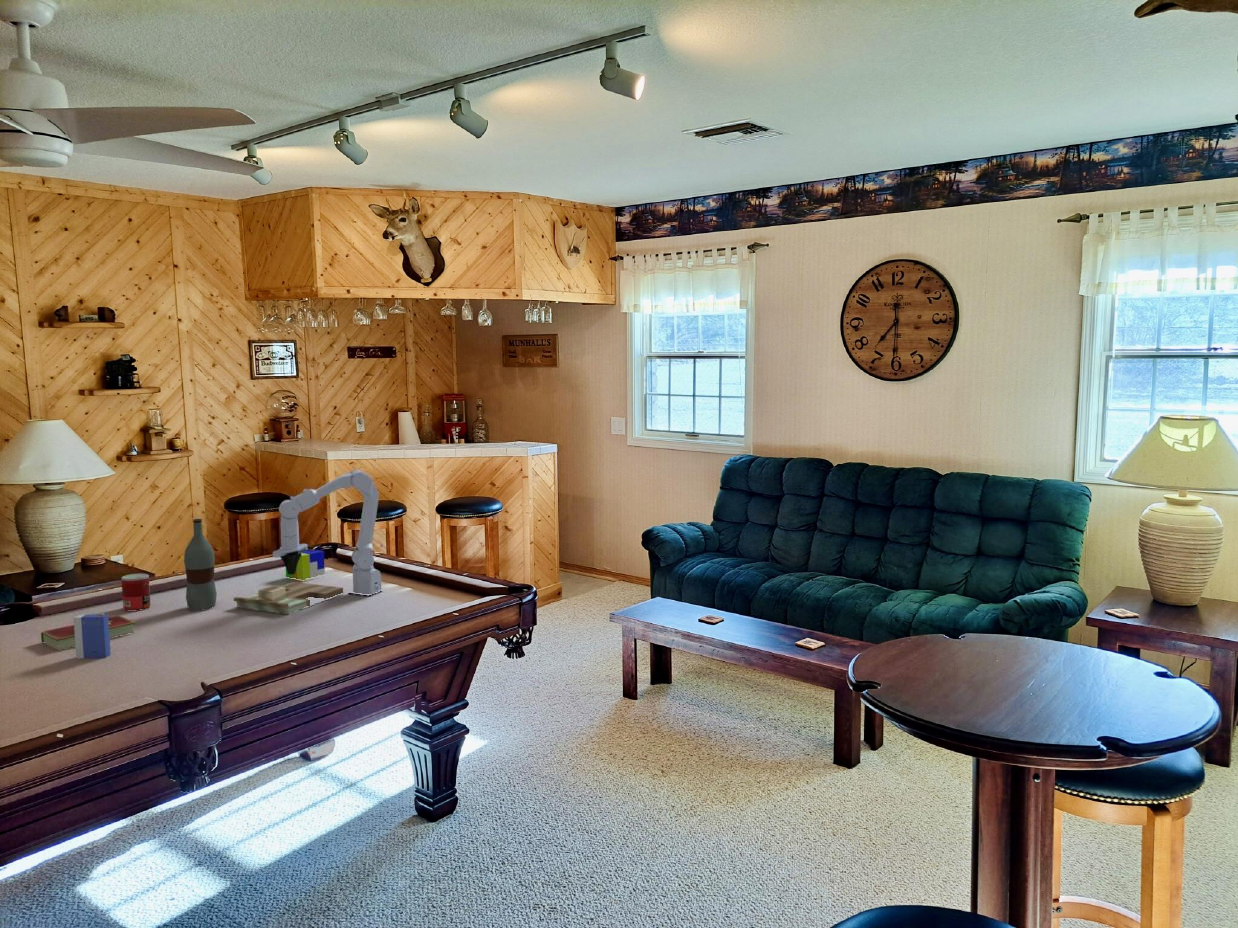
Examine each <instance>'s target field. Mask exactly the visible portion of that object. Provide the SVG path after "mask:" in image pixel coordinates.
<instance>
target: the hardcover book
mask: <svg viewBox="0 0 1238 928" xmlns="http://www.w3.org/2000/svg"><path fill="white" fill-rule="evenodd" d="M108 620H109V636H110V638H112V637H115V636H120V635H126V634H128V633H134V634H135V627H134V626H135V624H136V621H134V620H131V619H128V618H126V617H124V616H121V615H115V616H110V617H109V616H108ZM126 636H127V635H126ZM40 637H41V638H40V639H41V643H42V642H45V643H46V644H45V643H44V644H45V645H47V644H48V645H47V646H49V645H50V646H51V647H50V646H49V647H50V648H52V647H53V648H52V649H54V648H55V649H54V650H56V649H57V651H58V650H60V651H63V650H62V649H64V650H68V648H69V649H71V648H70V647H73V648H76V647H75V629H74V624H73V625H67V626H62V627H59V628H58V627H56V628H53V629H48V630H43V631H41V632H40Z"/></svg>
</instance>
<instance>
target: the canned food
mask: <svg viewBox="0 0 1238 928" xmlns="http://www.w3.org/2000/svg"><path fill="white" fill-rule="evenodd" d="M150 587H151V586H150V577H149V574H147V573H131V574H126V575H124V576H122V577H121V592H122V593H121V595H122V596H121V597H122V607H123V610H124V609H125V610H140V609H145V610H147V609H146V608H148V607H149V608H150V607H151V591H150ZM149 608H148V609H149ZM125 610H124V611H125ZM140 611H141V610H140Z"/></svg>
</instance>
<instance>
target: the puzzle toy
mask: <svg viewBox="0 0 1238 928" xmlns="http://www.w3.org/2000/svg"><path fill="white" fill-rule="evenodd" d="M298 553H301V555H302V556H301V557H300V559H299V561H298V564H297V568H296V572H295V574H293V575H291V574H288V572H287V569H286V568H285V578H286V577H289V578H296V579H301V580H305V579H306V578H311V577H316V576H318V575H323V574H325V573H326V571H325V570H326V568H325V551H324V550H319V549H313V548H308V549H307V550H302V551H298ZM325 575H326V574H325Z"/></svg>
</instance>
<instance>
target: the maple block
mask: <svg viewBox="0 0 1238 928" xmlns="http://www.w3.org/2000/svg"><path fill="white" fill-rule="evenodd" d="M257 594H258V598H259V600H265V601H272V602H279V601H282V600H285V599H286V589H285V587H279V586H276V585H275V586H274V585H270V586H267V587H264V588H261V589H258V590H257Z"/></svg>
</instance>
